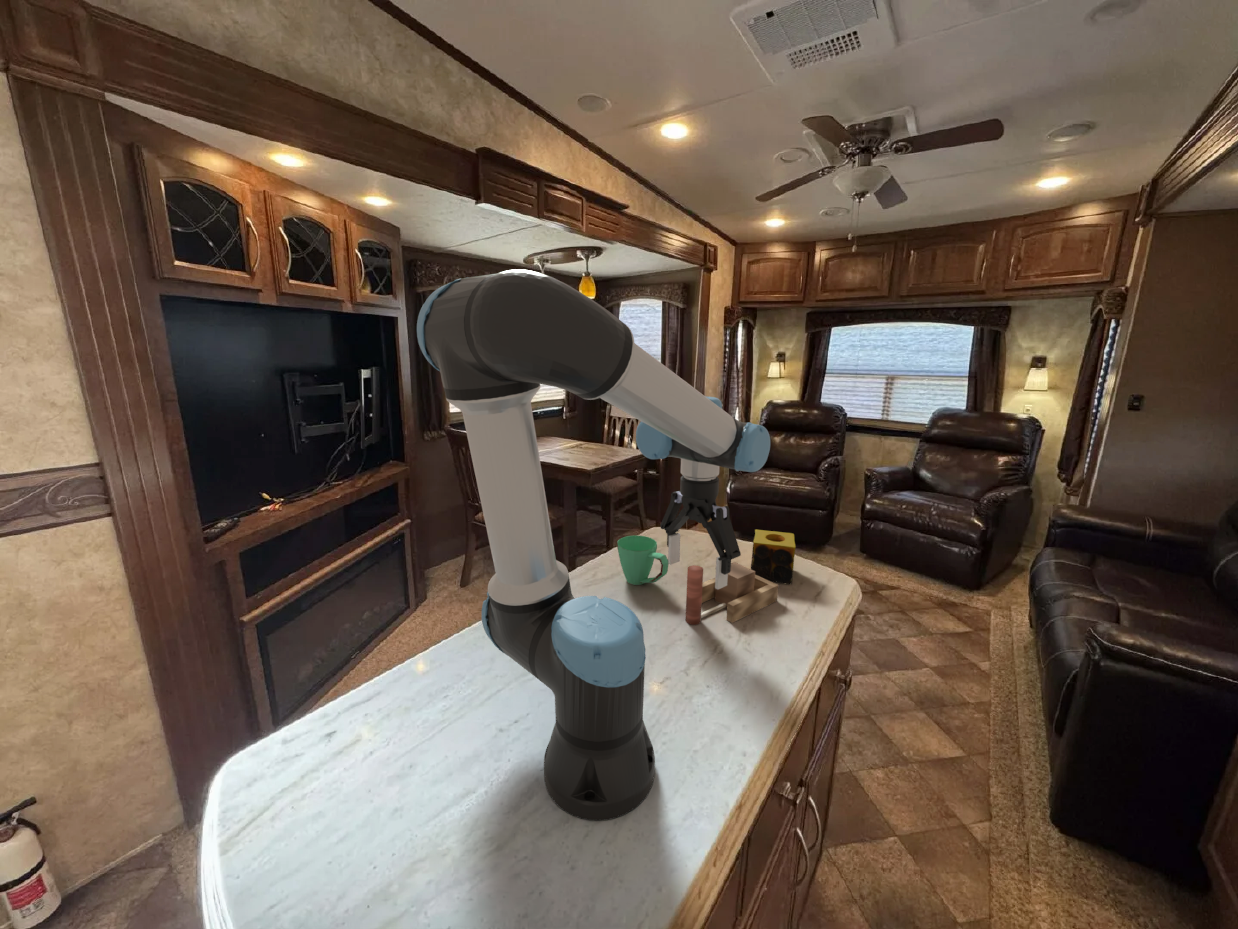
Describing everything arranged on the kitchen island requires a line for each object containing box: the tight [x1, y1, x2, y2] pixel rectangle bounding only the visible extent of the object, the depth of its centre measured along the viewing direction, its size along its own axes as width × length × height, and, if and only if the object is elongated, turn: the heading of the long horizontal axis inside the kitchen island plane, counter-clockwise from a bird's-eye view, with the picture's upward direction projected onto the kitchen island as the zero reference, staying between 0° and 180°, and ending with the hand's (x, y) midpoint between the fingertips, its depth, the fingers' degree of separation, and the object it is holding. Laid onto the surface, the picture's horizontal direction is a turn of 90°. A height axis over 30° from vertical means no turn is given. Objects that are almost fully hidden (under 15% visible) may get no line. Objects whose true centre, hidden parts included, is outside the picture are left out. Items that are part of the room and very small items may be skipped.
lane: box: [702, 575, 779, 624], centre depth 110 cm, size 16×11×4 cm
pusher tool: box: [685, 561, 755, 626], centre depth 106 cm, size 18×6×12 cm, turn 127°
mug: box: [616, 534, 670, 586], centre depth 118 cm, size 15×10×10 cm
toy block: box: [750, 529, 797, 585], centre depth 123 cm, size 10×10×10 cm
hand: (696, 574), depth 101 cm, fingers open, 13 cm apart
